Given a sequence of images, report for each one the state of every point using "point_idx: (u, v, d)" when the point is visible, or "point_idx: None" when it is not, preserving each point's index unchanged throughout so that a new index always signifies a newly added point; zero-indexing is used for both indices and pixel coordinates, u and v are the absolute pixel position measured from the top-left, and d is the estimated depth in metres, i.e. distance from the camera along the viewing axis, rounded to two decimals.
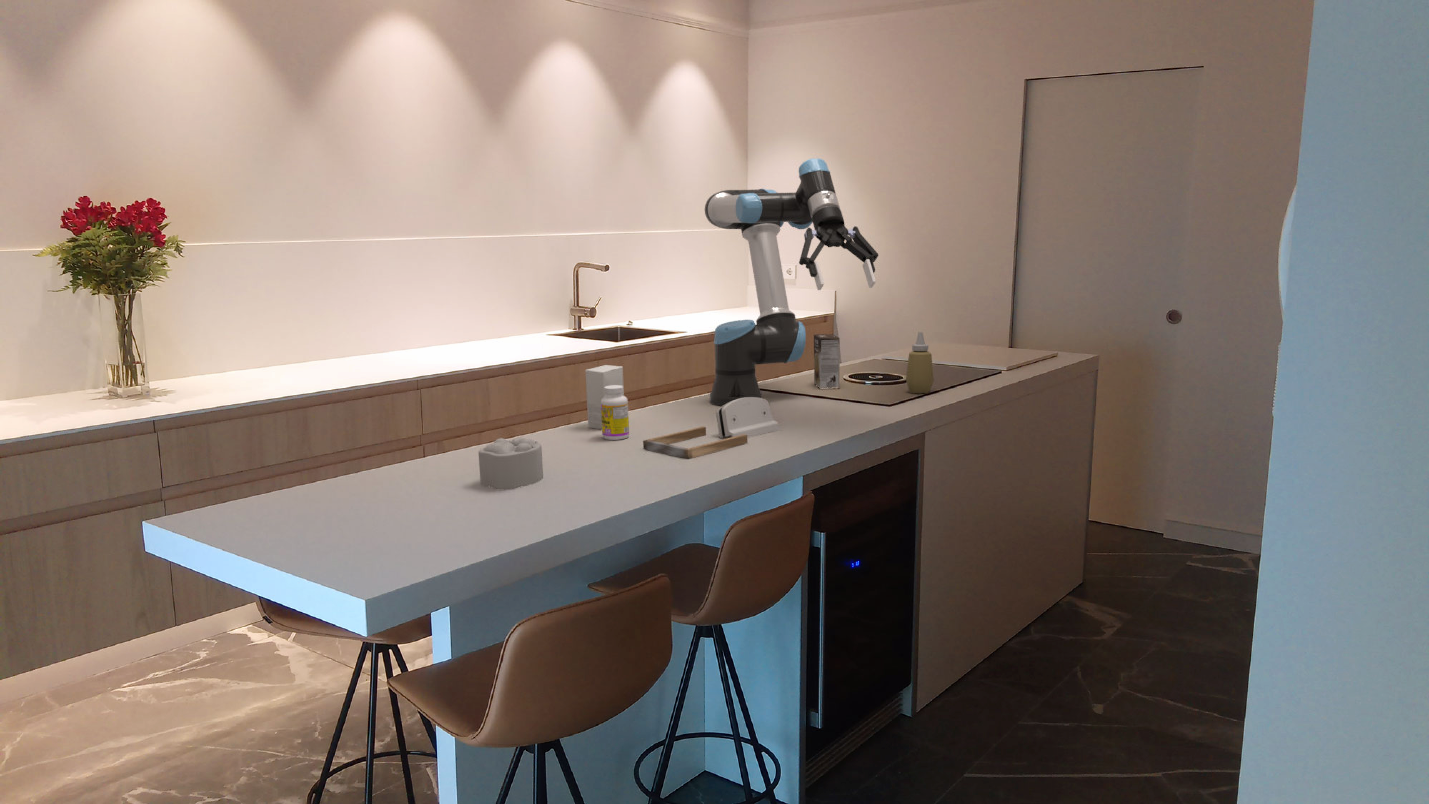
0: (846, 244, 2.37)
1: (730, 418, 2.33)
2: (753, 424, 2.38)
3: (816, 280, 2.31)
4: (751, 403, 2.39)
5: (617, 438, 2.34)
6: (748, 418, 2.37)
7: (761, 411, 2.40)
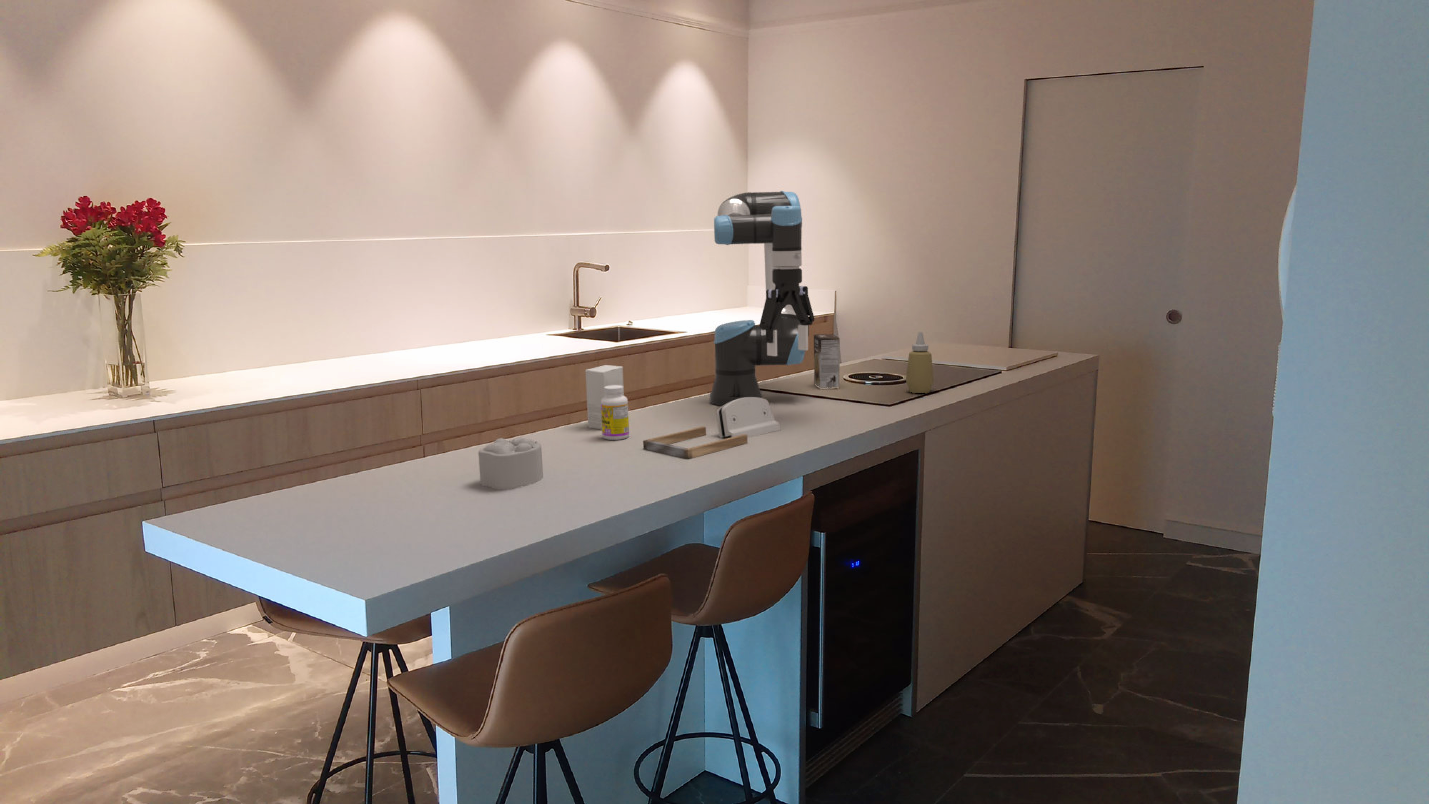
0: (794, 304, 2.46)
1: (730, 418, 2.34)
2: (753, 424, 2.38)
3: (769, 346, 2.42)
4: (751, 403, 2.39)
5: (617, 438, 2.34)
6: (748, 418, 2.37)
7: (761, 411, 2.40)
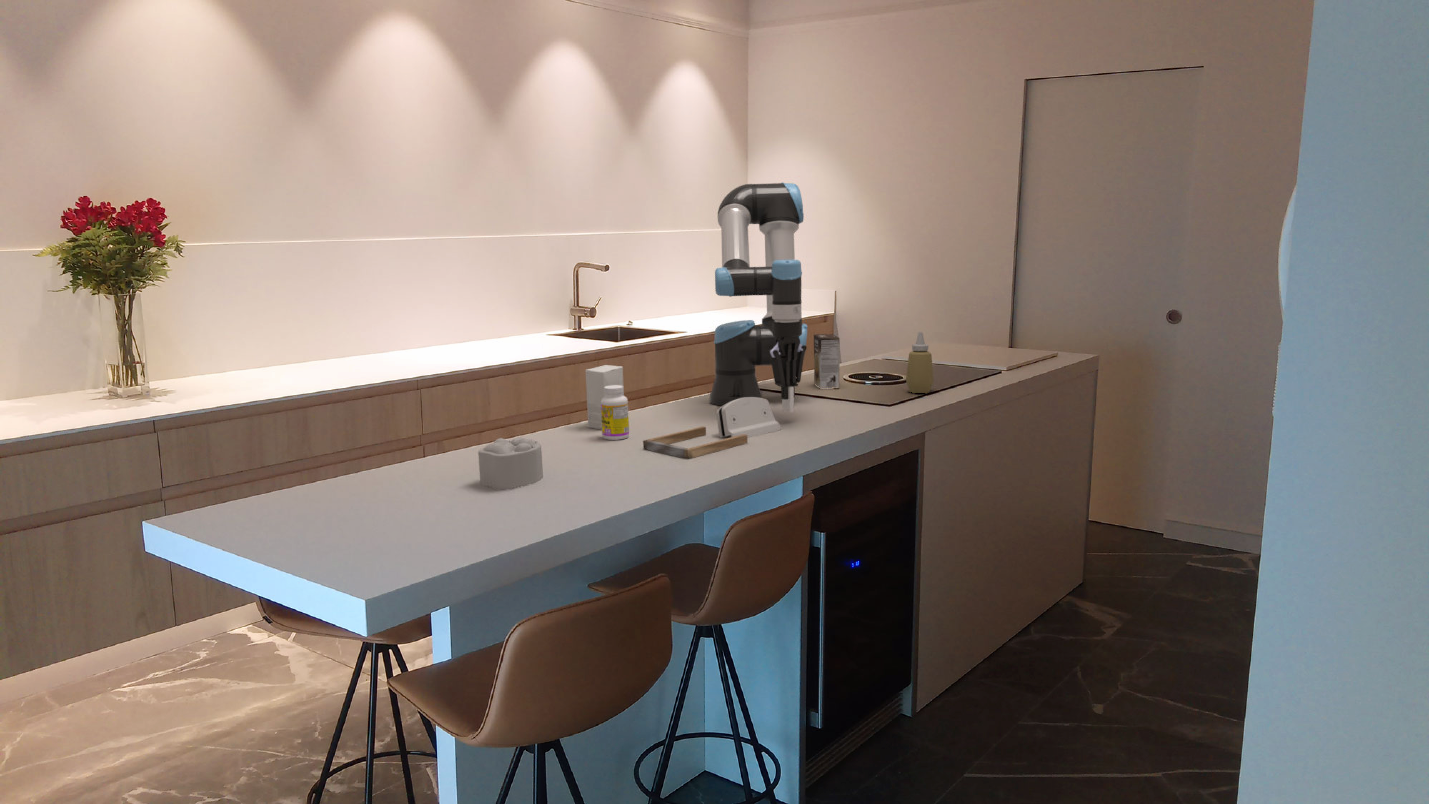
0: None
1: (730, 418, 2.34)
2: (753, 424, 2.38)
3: (784, 402, 2.49)
4: (751, 403, 2.39)
5: (617, 438, 2.34)
6: (748, 418, 2.37)
7: (761, 411, 2.40)
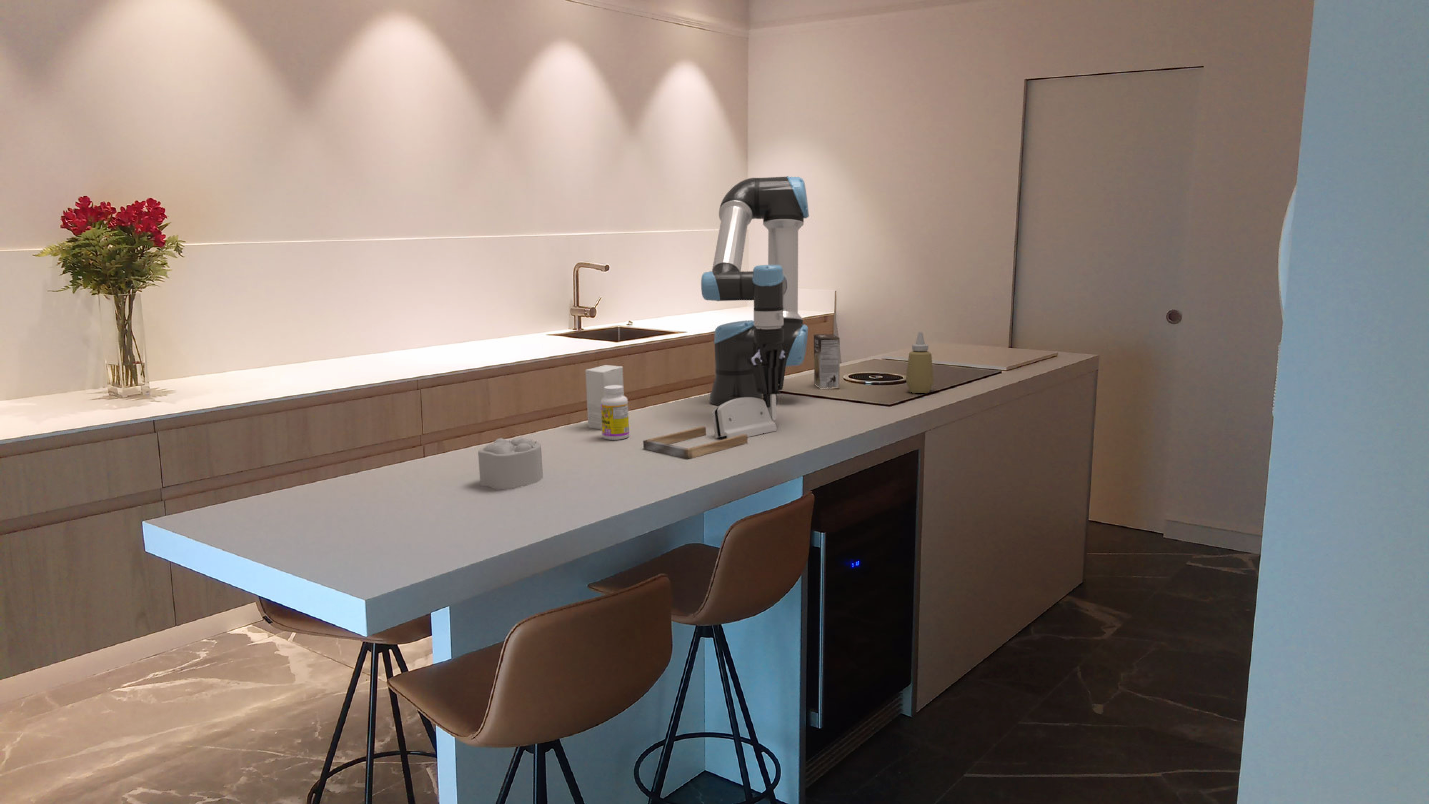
0: None
1: (726, 418, 2.33)
2: (749, 424, 2.37)
3: None
4: (748, 403, 2.38)
5: (617, 438, 2.34)
6: (744, 418, 2.36)
7: (758, 411, 2.39)
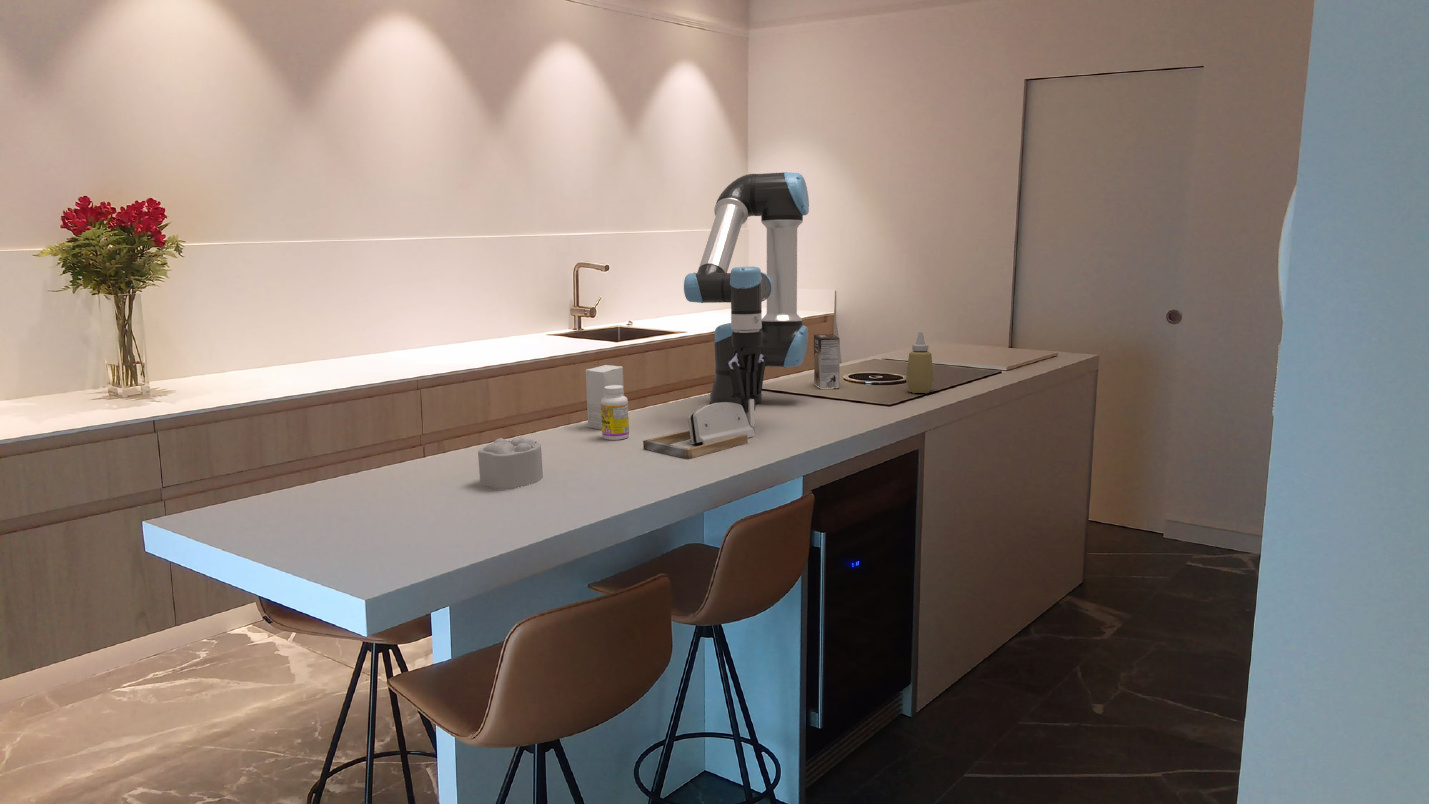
0: None
1: (702, 424, 2.27)
2: (726, 430, 2.31)
3: None
4: (725, 408, 2.32)
5: (617, 438, 2.34)
6: (721, 424, 2.30)
7: (735, 417, 2.34)
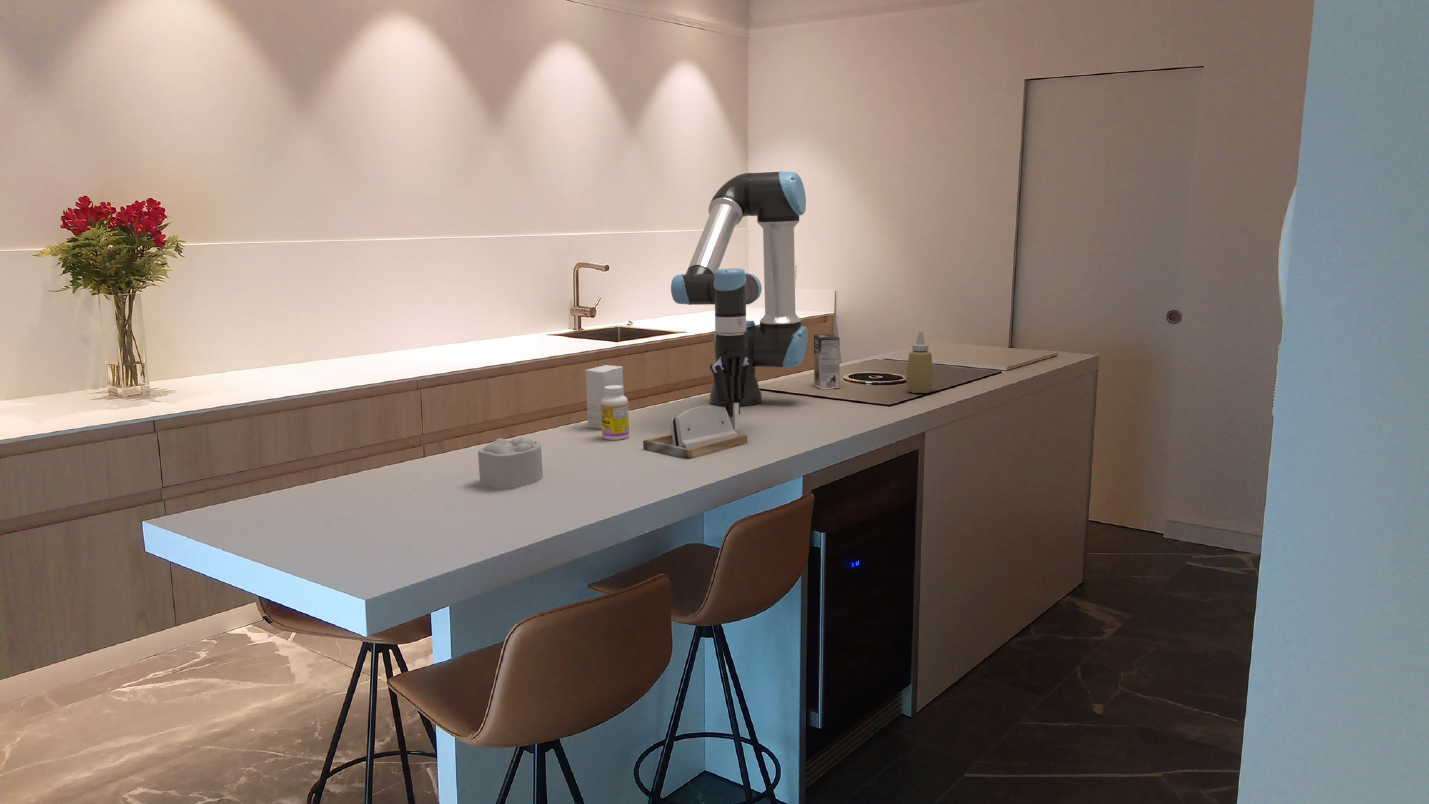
0: None
1: (684, 428, 2.23)
2: (710, 434, 2.27)
3: None
4: (708, 412, 2.28)
5: (617, 438, 2.34)
6: (704, 428, 2.27)
7: (719, 420, 2.30)
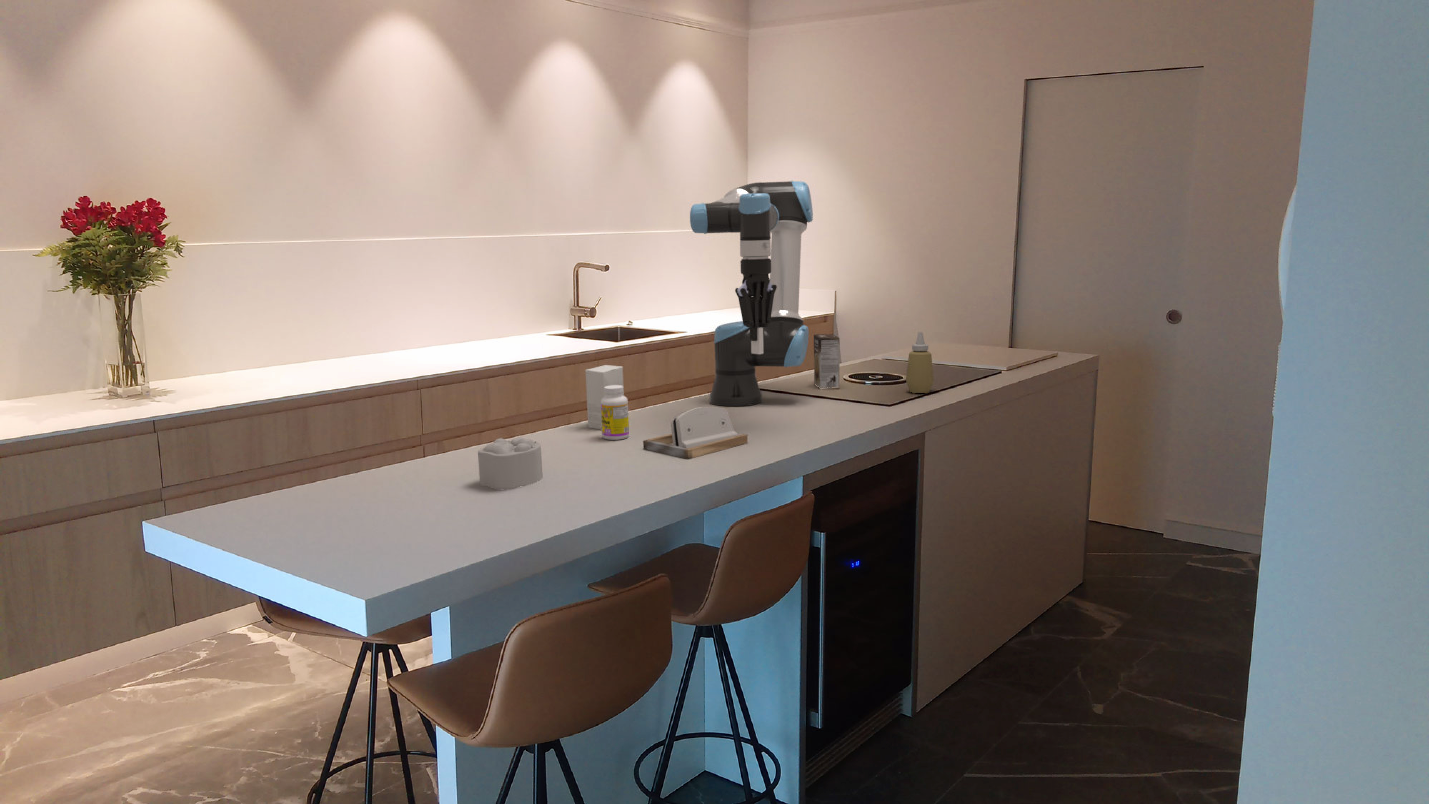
0: None
1: (685, 428, 2.23)
2: (710, 435, 2.27)
3: (753, 344, 2.38)
4: (708, 413, 2.28)
5: (617, 438, 2.34)
6: (704, 428, 2.27)
7: (719, 421, 2.30)
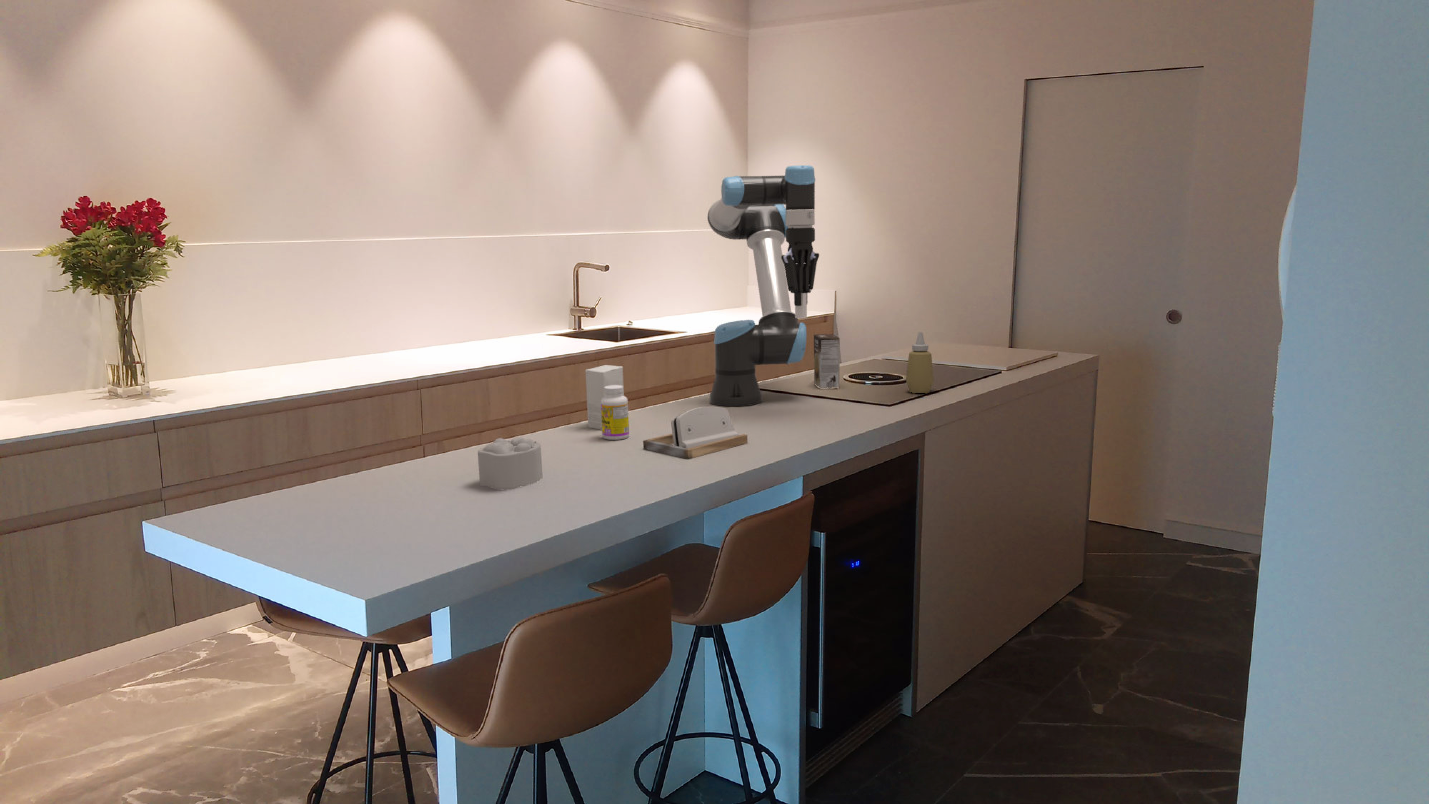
0: None
1: (685, 428, 2.23)
2: (710, 435, 2.27)
3: (797, 309, 2.52)
4: (709, 413, 2.28)
5: (617, 438, 2.34)
6: (705, 428, 2.27)
7: (720, 421, 2.30)
